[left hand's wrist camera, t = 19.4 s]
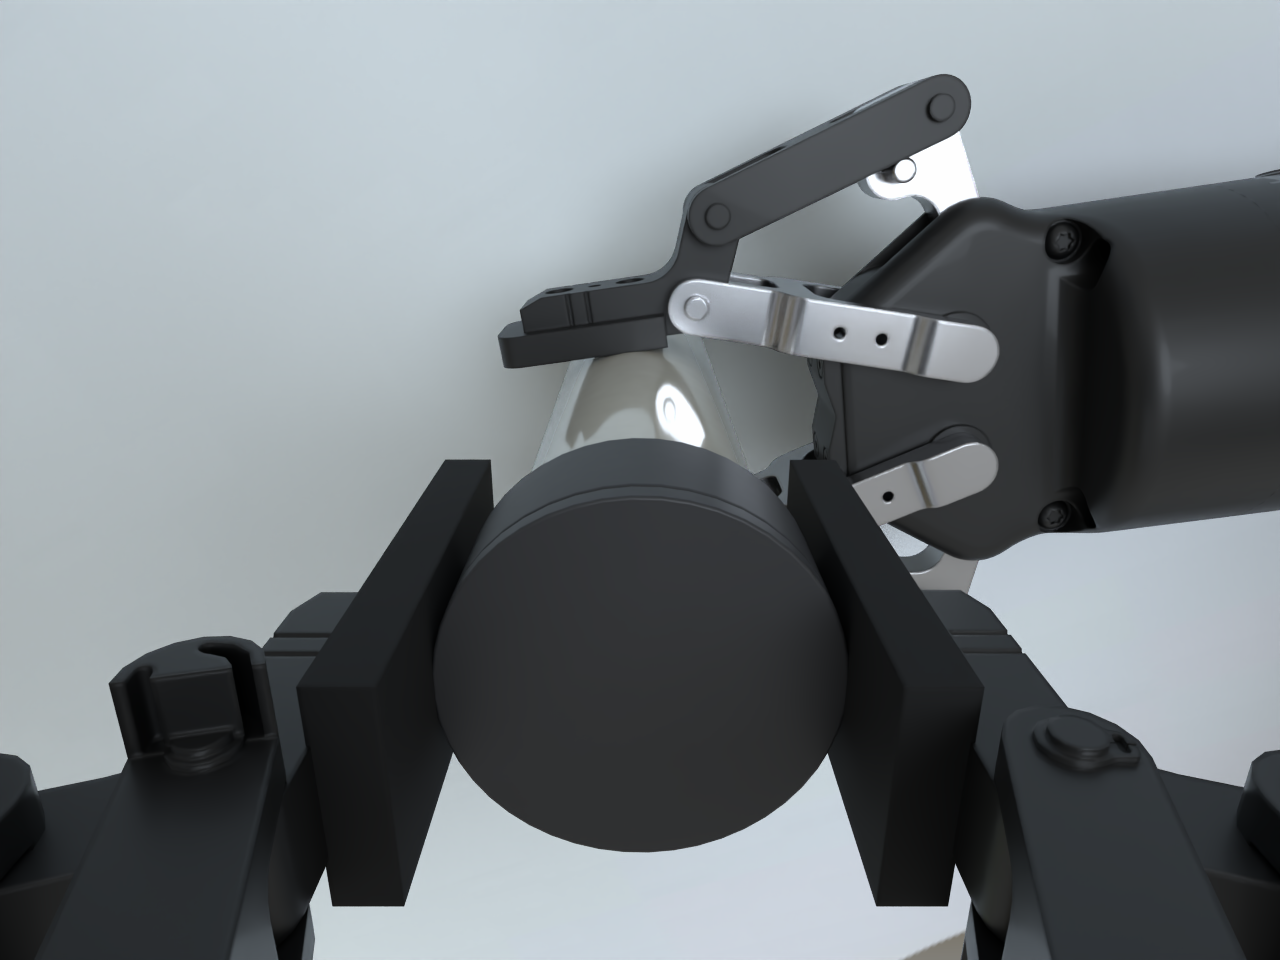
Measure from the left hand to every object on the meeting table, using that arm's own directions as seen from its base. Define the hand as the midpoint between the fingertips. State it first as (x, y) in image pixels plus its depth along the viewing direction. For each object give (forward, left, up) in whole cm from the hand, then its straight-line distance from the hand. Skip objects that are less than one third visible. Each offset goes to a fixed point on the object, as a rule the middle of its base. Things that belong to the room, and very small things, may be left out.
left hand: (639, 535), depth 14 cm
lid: (0, 0, +4) cm, 4 cm away
